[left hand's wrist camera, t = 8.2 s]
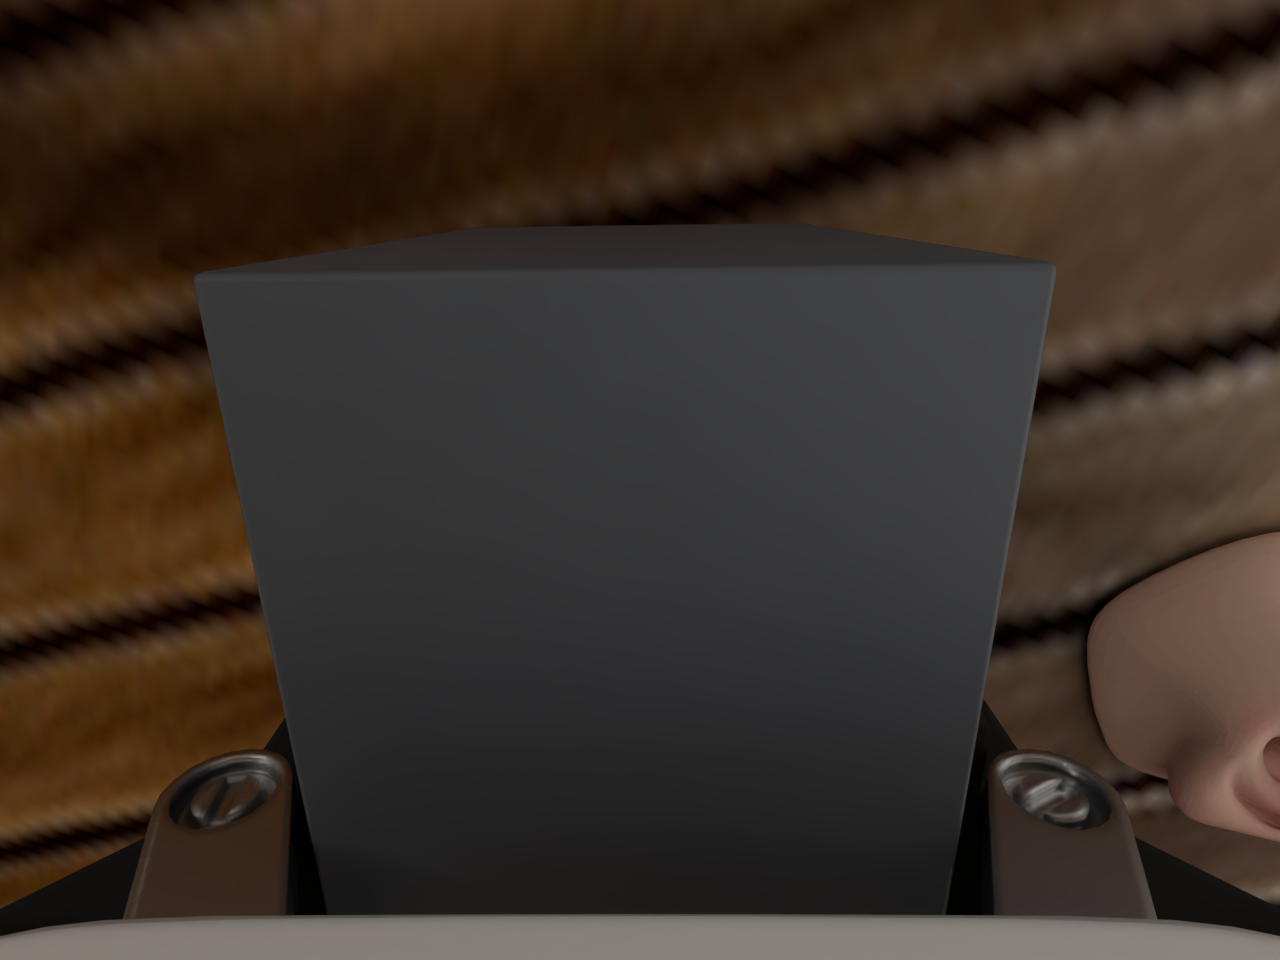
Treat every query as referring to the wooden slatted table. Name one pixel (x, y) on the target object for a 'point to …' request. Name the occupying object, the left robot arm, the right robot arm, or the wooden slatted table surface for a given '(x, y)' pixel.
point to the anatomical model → (1198, 682)
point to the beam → (631, 557)
